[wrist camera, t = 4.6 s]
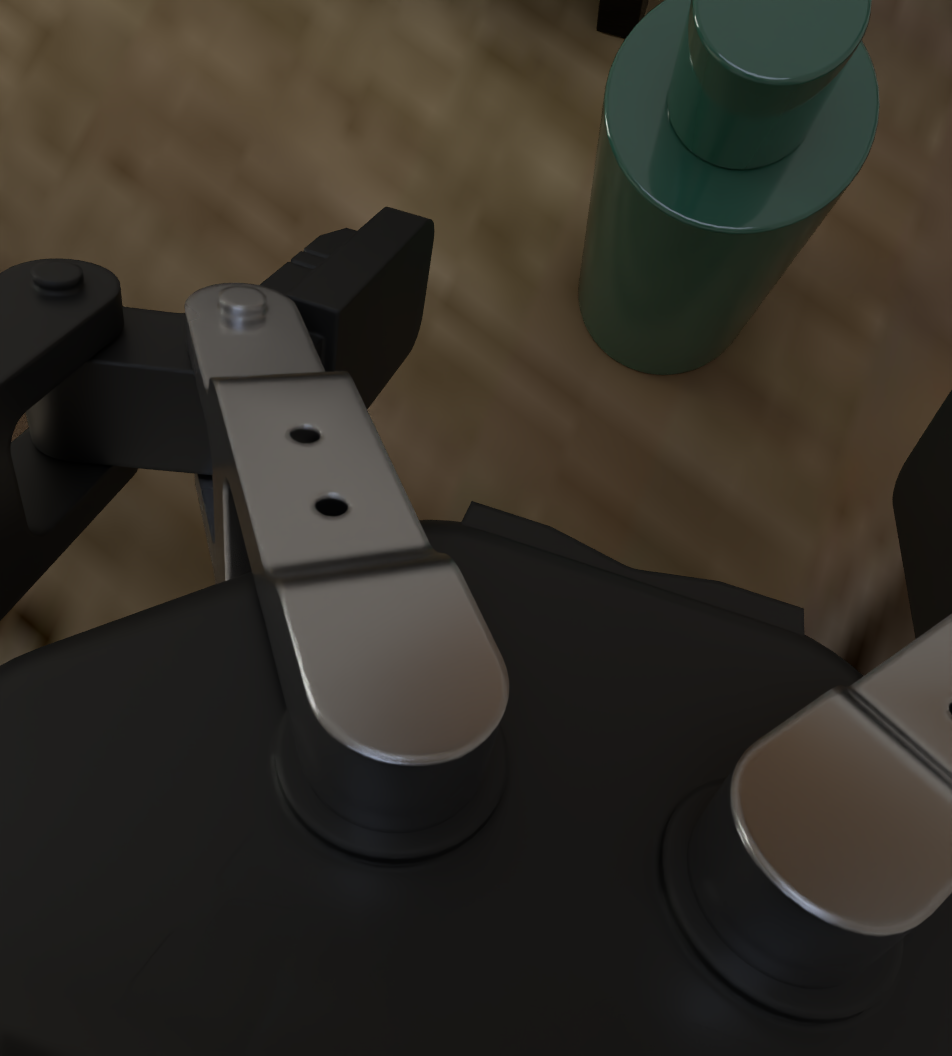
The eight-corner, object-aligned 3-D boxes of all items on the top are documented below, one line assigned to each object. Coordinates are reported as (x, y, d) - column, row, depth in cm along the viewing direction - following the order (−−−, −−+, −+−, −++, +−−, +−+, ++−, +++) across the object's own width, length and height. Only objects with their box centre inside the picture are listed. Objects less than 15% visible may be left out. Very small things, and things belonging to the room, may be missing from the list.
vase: (556, 347, 24) (576, 105, 12) (607, 191, 24) (673, -184, 13) (721, 396, 23) (900, 192, 12) (771, 237, 24) (991, -110, 12)
